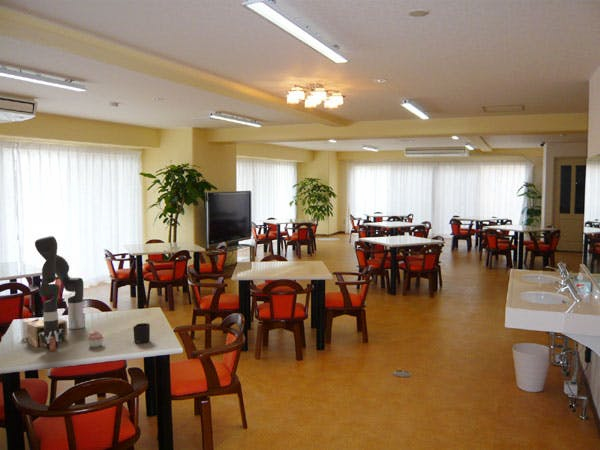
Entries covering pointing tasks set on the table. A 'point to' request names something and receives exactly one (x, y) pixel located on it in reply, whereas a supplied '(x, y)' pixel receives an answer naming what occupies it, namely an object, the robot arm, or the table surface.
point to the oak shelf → (38, 327)
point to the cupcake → (95, 339)
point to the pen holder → (141, 333)
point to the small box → (26, 326)
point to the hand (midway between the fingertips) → (52, 348)
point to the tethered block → (52, 342)
